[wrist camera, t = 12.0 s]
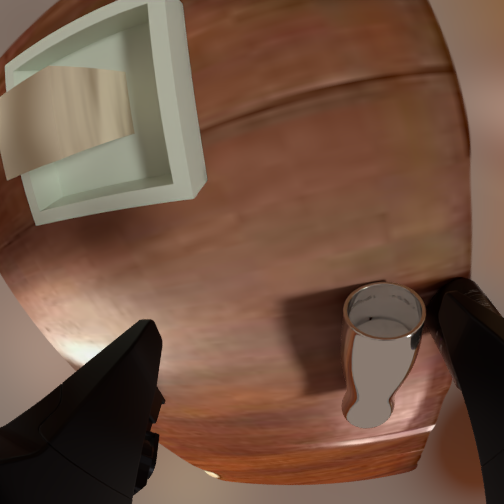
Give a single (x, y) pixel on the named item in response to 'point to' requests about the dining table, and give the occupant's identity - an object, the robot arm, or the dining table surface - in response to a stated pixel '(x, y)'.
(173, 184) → the bin
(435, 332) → the supplement bottle
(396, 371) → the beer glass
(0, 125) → the birch block
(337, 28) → the dining table surface
